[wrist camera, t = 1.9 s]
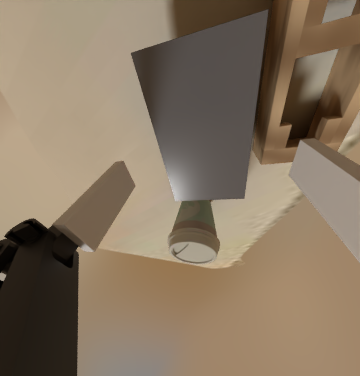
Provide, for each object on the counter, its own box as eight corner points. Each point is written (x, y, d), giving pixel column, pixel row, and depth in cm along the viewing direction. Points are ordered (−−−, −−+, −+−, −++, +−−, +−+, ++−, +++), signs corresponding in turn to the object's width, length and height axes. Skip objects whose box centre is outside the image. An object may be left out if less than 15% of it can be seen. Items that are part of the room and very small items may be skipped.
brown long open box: (303, -217, 8) (374, -429, 5) (510, -346, 6) (880, -850, 3) (252, 149, 22) (261, 164, 18) (311, 143, 20) (333, 158, 17)
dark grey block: (160, 59, 16) (130, 52, 10) (240, 35, 14) (268, 9, 8) (183, 168, 26) (175, 201, 19) (233, 163, 24) (244, 198, 17)
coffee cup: (205, 178, 27) (204, 234, 18) (222, 206, 31) (229, 263, 22) (169, 193, 31) (154, 245, 21) (189, 216, 35) (183, 268, 26)
